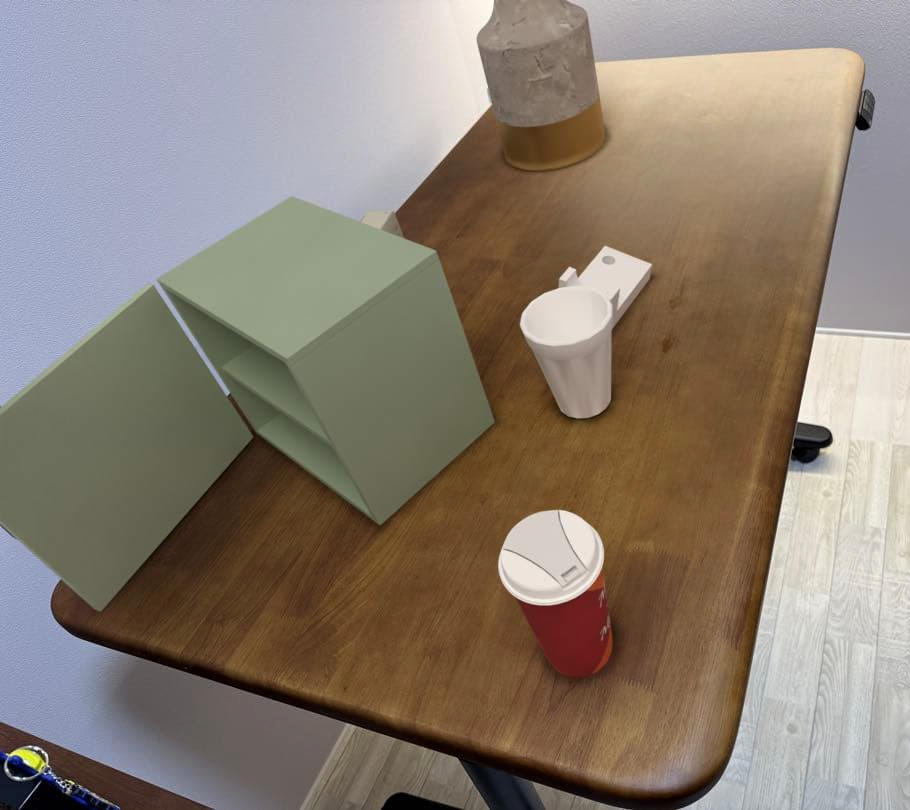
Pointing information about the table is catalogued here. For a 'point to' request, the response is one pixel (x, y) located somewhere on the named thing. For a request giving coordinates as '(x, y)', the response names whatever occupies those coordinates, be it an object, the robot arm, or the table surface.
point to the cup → (573, 347)
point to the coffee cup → (560, 588)
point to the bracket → (612, 278)
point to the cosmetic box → (383, 221)
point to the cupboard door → (114, 447)
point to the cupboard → (337, 349)
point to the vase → (542, 83)
